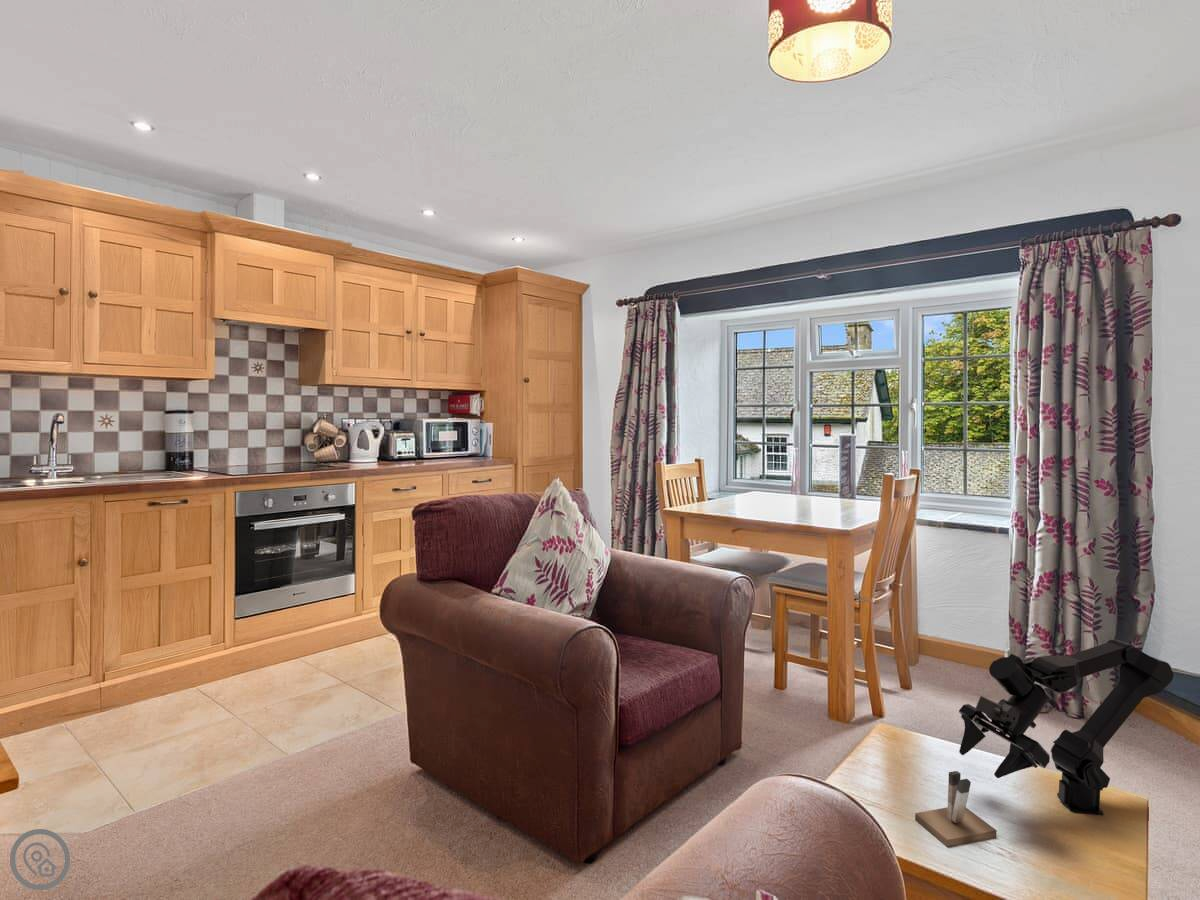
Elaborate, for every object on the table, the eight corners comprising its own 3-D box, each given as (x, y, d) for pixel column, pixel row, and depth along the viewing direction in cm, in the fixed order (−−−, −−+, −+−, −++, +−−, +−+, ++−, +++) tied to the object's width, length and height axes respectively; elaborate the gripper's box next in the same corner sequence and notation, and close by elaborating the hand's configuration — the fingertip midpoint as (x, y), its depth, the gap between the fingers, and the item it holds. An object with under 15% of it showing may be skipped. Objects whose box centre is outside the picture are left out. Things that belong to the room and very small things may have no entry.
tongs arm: (959, 817, 138) (967, 778, 136) (963, 821, 137) (970, 782, 135) (951, 819, 138) (959, 780, 135) (955, 822, 137) (962, 783, 134)
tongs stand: (962, 811, 144) (963, 759, 143) (996, 837, 135) (998, 781, 134) (915, 819, 141) (916, 766, 140) (947, 847, 132) (949, 790, 131)
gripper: (966, 668, 149) (923, 721, 147) (1041, 704, 131) (993, 765, 129) (994, 698, 152) (952, 751, 149) (1070, 737, 133) (1024, 798, 131)
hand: (977, 764), depth 140 cm, fingers open, 9 cm apart
